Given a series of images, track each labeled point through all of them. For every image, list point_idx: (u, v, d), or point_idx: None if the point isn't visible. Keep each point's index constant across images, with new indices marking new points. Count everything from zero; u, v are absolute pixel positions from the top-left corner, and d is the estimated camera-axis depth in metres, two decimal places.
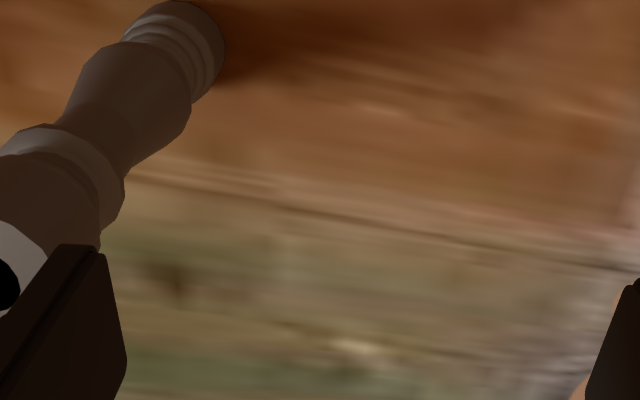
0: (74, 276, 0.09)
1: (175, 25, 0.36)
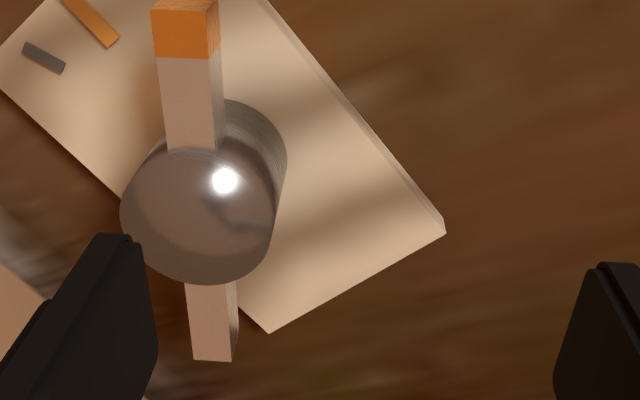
0: (114, 263, 0.10)
1: None
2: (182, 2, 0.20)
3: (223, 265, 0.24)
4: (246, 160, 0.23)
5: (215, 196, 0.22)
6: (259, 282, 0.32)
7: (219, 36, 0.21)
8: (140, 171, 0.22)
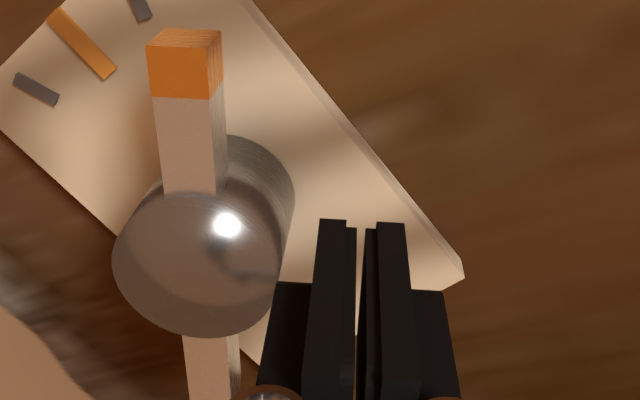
0: (348, 246, 0.10)
1: None
2: (181, 37, 0.18)
3: (224, 318, 0.22)
4: (250, 206, 0.21)
5: (216, 246, 0.20)
6: (263, 325, 0.30)
7: (222, 72, 0.20)
8: (134, 218, 0.20)
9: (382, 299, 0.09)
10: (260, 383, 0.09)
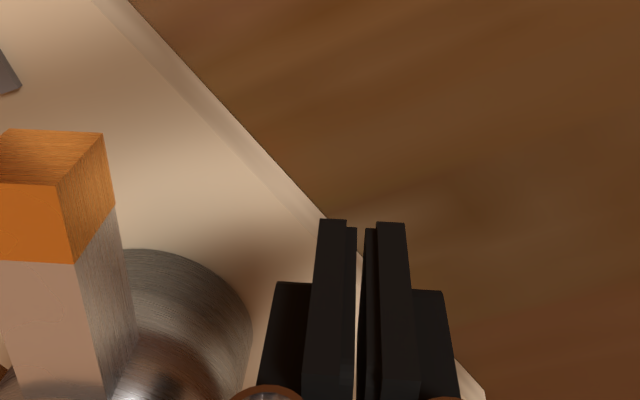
0: (348, 246, 0.10)
1: None
2: (25, 154, 0.10)
3: None
4: (169, 395, 0.13)
5: None
6: None
7: (110, 198, 0.12)
8: None
9: (382, 299, 0.09)
10: (260, 383, 0.09)
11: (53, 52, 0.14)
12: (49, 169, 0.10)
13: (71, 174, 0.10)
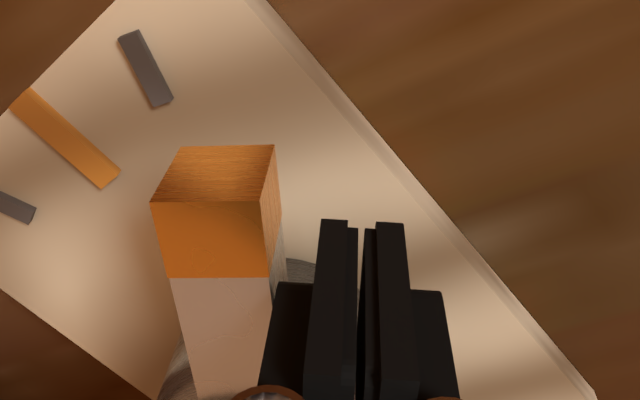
0: (349, 247, 0.10)
1: None
2: (211, 171, 0.10)
3: None
4: None
5: None
6: None
7: (280, 209, 0.12)
8: None
9: (381, 299, 0.09)
10: (261, 383, 0.09)
11: (209, 64, 0.14)
12: (244, 184, 0.10)
13: (264, 187, 0.10)
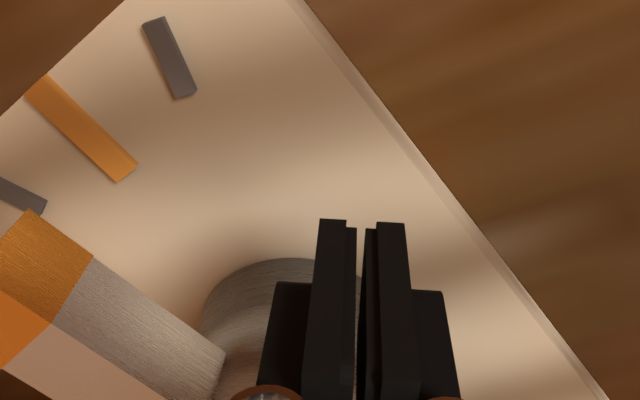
0: (348, 246, 0.10)
1: None
2: None
3: None
4: None
5: None
6: None
7: (81, 254, 0.12)
8: None
9: (382, 299, 0.09)
10: (260, 383, 0.09)
11: (236, 55, 0.14)
12: None
13: None
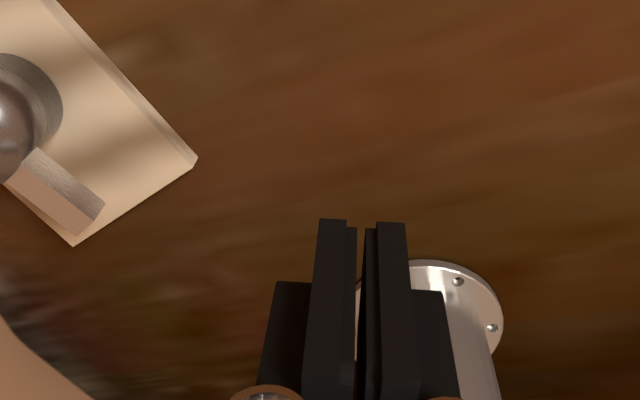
0: (348, 246, 0.10)
1: None
2: None
3: (1, 154, 0.32)
4: None
5: None
6: None
7: None
8: None
9: (382, 299, 0.09)
10: (260, 383, 0.09)
11: None
12: None
13: None
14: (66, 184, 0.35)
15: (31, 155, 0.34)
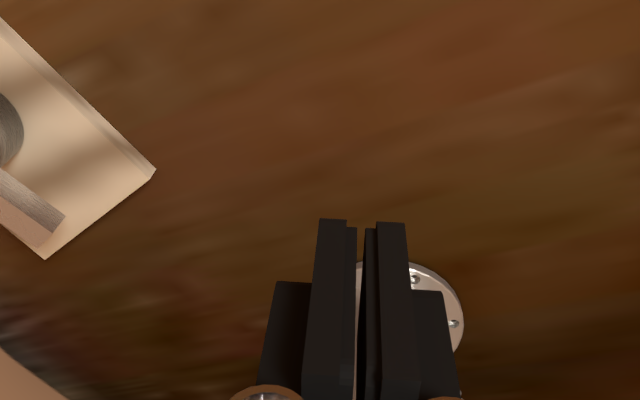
0: (348, 246, 0.10)
1: None
2: None
3: None
4: None
5: None
6: None
7: None
8: None
9: (382, 299, 0.09)
10: (260, 383, 0.09)
11: None
12: None
13: None
14: (25, 199, 0.37)
15: None
